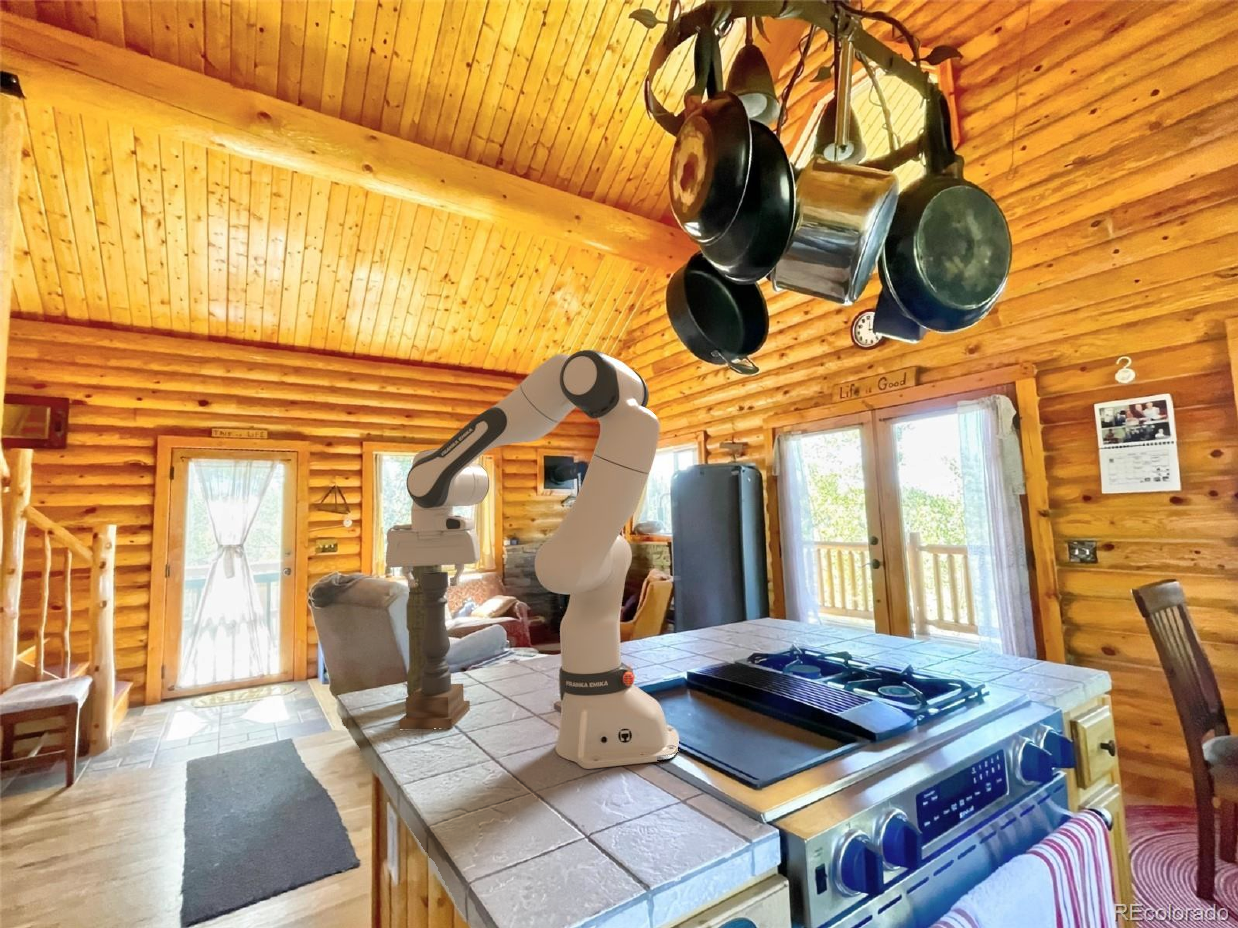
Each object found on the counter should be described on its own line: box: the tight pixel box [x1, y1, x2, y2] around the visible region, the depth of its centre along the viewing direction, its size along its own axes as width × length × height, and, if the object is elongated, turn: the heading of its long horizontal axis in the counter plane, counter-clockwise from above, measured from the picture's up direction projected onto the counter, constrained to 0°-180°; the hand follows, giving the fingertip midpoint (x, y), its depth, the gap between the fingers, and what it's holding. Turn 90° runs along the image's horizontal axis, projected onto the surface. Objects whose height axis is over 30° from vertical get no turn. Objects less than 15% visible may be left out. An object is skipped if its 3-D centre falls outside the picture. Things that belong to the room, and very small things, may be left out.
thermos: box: [405, 565, 446, 697], centre depth 132 cm, size 9×12×35 cm
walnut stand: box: [398, 683, 471, 730], centre depth 118 cm, size 11×11×6 cm
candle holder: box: [421, 571, 452, 695], centre depth 119 cm, size 6×6×25 cm
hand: (433, 586), depth 120 cm, fingers open, 8 cm apart
